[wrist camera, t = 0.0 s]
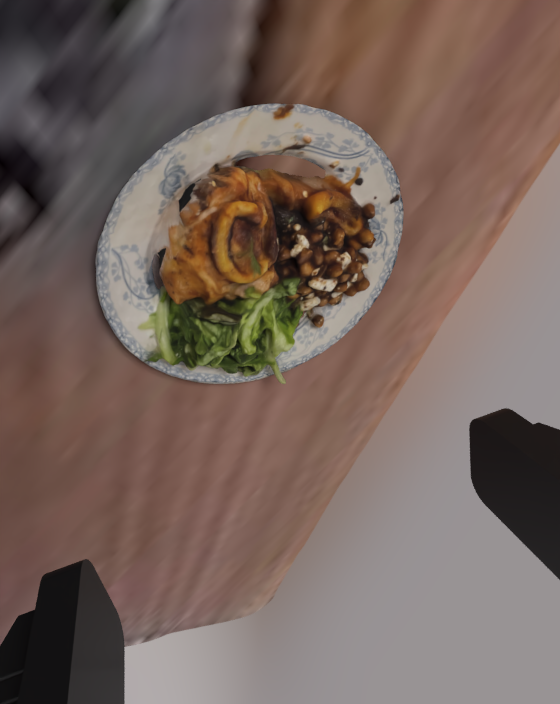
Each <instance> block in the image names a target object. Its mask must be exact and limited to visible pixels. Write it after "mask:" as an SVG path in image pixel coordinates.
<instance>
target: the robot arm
mask: <svg viewBox="0 0 560 704" xmlns="http://www.w3.org/2000/svg"><path fill="white" fill-rule="evenodd" d="M469 431H470V463H471V479H472V483H473V486H474V488H475V490H476V493H477V494H478V496H479V498H480V499H481V500H482V502H483V503H484V504H485V505H486V506H487V507H488V508H489V509H490V510H491V511H492V512H493V513H494V514H495V515H496V516H497V517H498V518H499V519H500V520H501V521H502V522H503V523H504V524H505V525H506V526H507V527H508V528H509V529H510V530H511V531H512V532H513V533H514V534H515V535H516V536H517V537H518V538H519V539H520V540H521V541H522V542H523V543H524V544H525V545H526V546H527V547H528V548H529V549H530V550H531V551H532V552H533V553H534V554H535V555H536V556H537V557H538V558H539V559H540V560H541V561H542V562H543V563H544V564H545V565H546V566H547V567H548V568H549V569H550V570H551V571H552V572H553V573H554V574H555V575H556V576H557V577H558V578H559V579H560V430H559V429H556V428H553V427H550V426H547V425H544V424H541V423H536V424H532V423H530V422H529V421H527V420H526V419H524V418H523V417H521V416H520V415H518V414H517V413H516V412H514V411H512V410H510V409H501V410H499V411H496V412H493V413H490V414H487V415H485V416H482V417H479V418H476V419H474V420H472V422H471V423H470V429H469ZM0 704H124V636H123V630H122V625H121V622H120V618H119V615H118V613H117V611H116V608H115V607H114V605H113V603H112V601H111V599H110V597H109V595H108V593H107V591H106V589H105V588H104V586H103V584H102V582H101V580H100V578H99V576H98V574H97V572H96V570H95V568H94V567H93V565H92V563H91V562H90V561H89V560H87V559H85V560H82V561H79V562H77V563H74V564H71V565H68V566H66V567H63V568H60V569H57V570H55V571H52V572H49V573H46V574H45V575H44V576H43V577H42V579H41V582H40V587H39V592H38V597H37V602H36V608H35V610H33V611H30V612H28V613H25V614H22V615H20V616H18V617H17V619H16V621H15V622H14V624H13V626H12V627H11V629H10V631H9V632H8V634H7V636H6V637H5V639H4V641H3V642H2V644H1V646H0Z"/></svg>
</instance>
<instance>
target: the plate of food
mask: <svg viewBox="0 0 560 704" xmlns="http://www.w3.org/2000/svg"><path fill="white" fill-rule="evenodd" d="M261 155H288V156H295V157H298V158H302V159H305V160H308V161H310V162H312V163H314V164H316V165H318V166H319V167H321V168H322V169H324V170H325V171H326V174H325V175H326V176H325V178H323V179H322V178H320V177H318V176H315V177H311V178H306V177H302V176H295V175H289V174H286V173H281V172H278V171H275V170H273V169H265V170H260V171H254V170H253V169H250V168H246V167H240V166H235V162H237V161H239V160H240V159H243V158H247V157H255V156H261ZM402 226H403V202H402V198H401V195H400V184H399V180H398V177H397V175H396V172H395V171H394V169H393V167H392V164H391V162H390V160H389V159H388V158H387V156H386V155H385V153H384V152H383V151H382V149H381V148H380V147H379V146H378V145H377V144H376V143H375V142H374V140H373V139H372V138H371V137H370V135H369V134H368V133H367V132H365V131H364V130H363V129H361V128H360V127H359V126H357V125H356V124H354V123H352V122H351V121H349V120H347V119H345V118H343V117H341V116H339V115H337V114H335V113H332V112H330V111H327V110H323V109H318V108H312V107H310V106H307V105H302V104H262V105H255V106H249V107H244V108H239V109H235V110H231V111H228V112H225V113H223V114H219V115H216V116H214V117H212V118H210V119H208V120H206V121H203V122H201V123H200V124H198V125H195V126H193V127H191V128H189V129H187V130H186V131H184V132H183V133H181V134H180V135H179V136H177V137H175V138H174V139H172V140H170V141H169V142H168V143H166V144H165V145H164V146H163V147H161V148H160V149H159V150H158V151H157V152H156V153H155V154H154V155H152V156H151V157H150V158H149V159H148V160H147V161H146V162H145V163H144V164H143V165H142V166H141V167H140V168H139V169H138V170H137V171H136V172H135V173H134V174H133V175H132V176H131V178H130V179H129V181H128V183H127V184H126V185H125V186H124V187H123V189H122V190H121V192H120V193H119V195H118V197H117V199H116V201H115V203H114V205H113V207H112V209H111V211H110V213H109V215H108V218H107V221H106V223H105V226H104V230H103V232H102V234H101V236H100V238H99V241H98V250H97V253H96V283H97V291H98V298H99V302H100V304H101V307H102V310H103V313H104V316H105V318H106V319H107V321H108V323H109V325H110V326H111V328H112V330H113V332H114V334H115V335H116V336H117V337H118V339H119V340H120V341H121V343H122V344H123V346H124V347H125V348H126V349H128V350H129V351H130V352H131V353H132V354H133V355H135V356H136V357H138V358H139V359H140V360H141V361H143V362H145V363H146V364H148V365H149V366H151V367H152V368H155V369H157V370H159V371H161V372H164V373H166V374H168V375H171V376H174V377H178V378H181V379H184V380H189V381H193V382H200V383H208V384H232V383H242V382H248V381H254V380H259V379H262V378H265V377H268V376H270V375H273V374H275V376H276V377H277V379H278V381H279V382H280V383H282V384H285V383H286V381H285V379H284V378H283V376H282V374H281V373H283V372H286V371H288V370H290V369H292V368H294V367H296V366H298V365H300V364H302V363H304V362H306V361H308V360H310V359H312V358H313V357H315V356H317V355H319V354H320V353H322V352H323V351H325V350H326V349H328V348H329V347H330V346H332V345H333V344H334V343H336V342H337V341H338V340H339V339H341V338H342V337H343V336H344V335H345V334H346V333H348V332H349V331H350V330H351V329H352V328H353V327H354V326H355V325H356V324H357V323H358V322H359V321H360V320H361V318H362V317H363V316H364V315H365V313H366V312H367V311H368V310H369V308H370V307H371V306H372V304H373V303H374V302H375V300H376V299H377V297H378V295H379V293H380V292H381V290H382V289H383V287H384V285H385V284H386V282H387V280H388V278H389V276H390V274H391V272H392V269H393V267H394V264H395V262H396V258H397V251H398V247H399V243H400V239H401V235H402ZM155 254H157V255H158V257H159V259H160V276H161V279H162V281H163V284H164V286H161V288H160V289H157V287H156V286H155V283H154V278H153V272H152V262H153V258H154V255H155ZM305 310H307V311H306V312H305V313H304V316H303V318H301V316H302V315H303V311H305ZM300 318H301V319H300Z"/></svg>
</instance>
